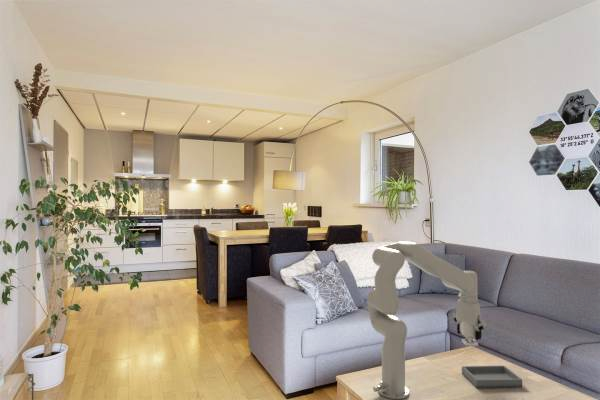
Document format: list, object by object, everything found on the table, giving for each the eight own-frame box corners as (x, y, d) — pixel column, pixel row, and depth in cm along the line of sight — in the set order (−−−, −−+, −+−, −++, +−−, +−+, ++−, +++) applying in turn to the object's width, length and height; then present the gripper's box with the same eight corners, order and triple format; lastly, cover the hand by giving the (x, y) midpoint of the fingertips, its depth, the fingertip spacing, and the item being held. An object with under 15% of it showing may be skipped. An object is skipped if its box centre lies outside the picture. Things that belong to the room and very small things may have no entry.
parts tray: (476, 388, 165) (476, 380, 165) (461, 373, 179) (461, 366, 179) (522, 387, 165) (522, 379, 165) (504, 372, 179) (504, 365, 179)
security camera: (473, 340, 179) (473, 318, 179) (479, 345, 172) (479, 323, 172) (459, 340, 179) (459, 318, 179) (464, 345, 172) (464, 323, 172)
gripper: (447, 295, 181) (447, 332, 181) (481, 303, 166) (481, 343, 166) (457, 293, 185) (457, 329, 185) (491, 301, 170) (491, 340, 170)
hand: (469, 336), depth 176 cm, fingers closed on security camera, 8 cm apart
